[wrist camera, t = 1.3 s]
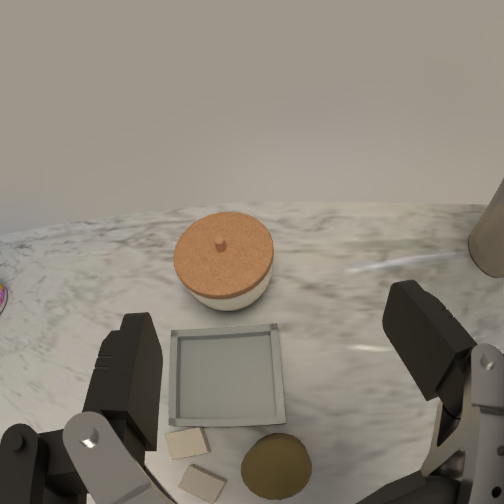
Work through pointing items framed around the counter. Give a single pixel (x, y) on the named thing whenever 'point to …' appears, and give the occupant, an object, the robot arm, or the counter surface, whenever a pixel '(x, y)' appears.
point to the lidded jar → (225, 260)
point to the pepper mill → (276, 467)
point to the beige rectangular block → (202, 483)
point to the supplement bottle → (2, 297)
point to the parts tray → (226, 377)
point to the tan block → (187, 443)
